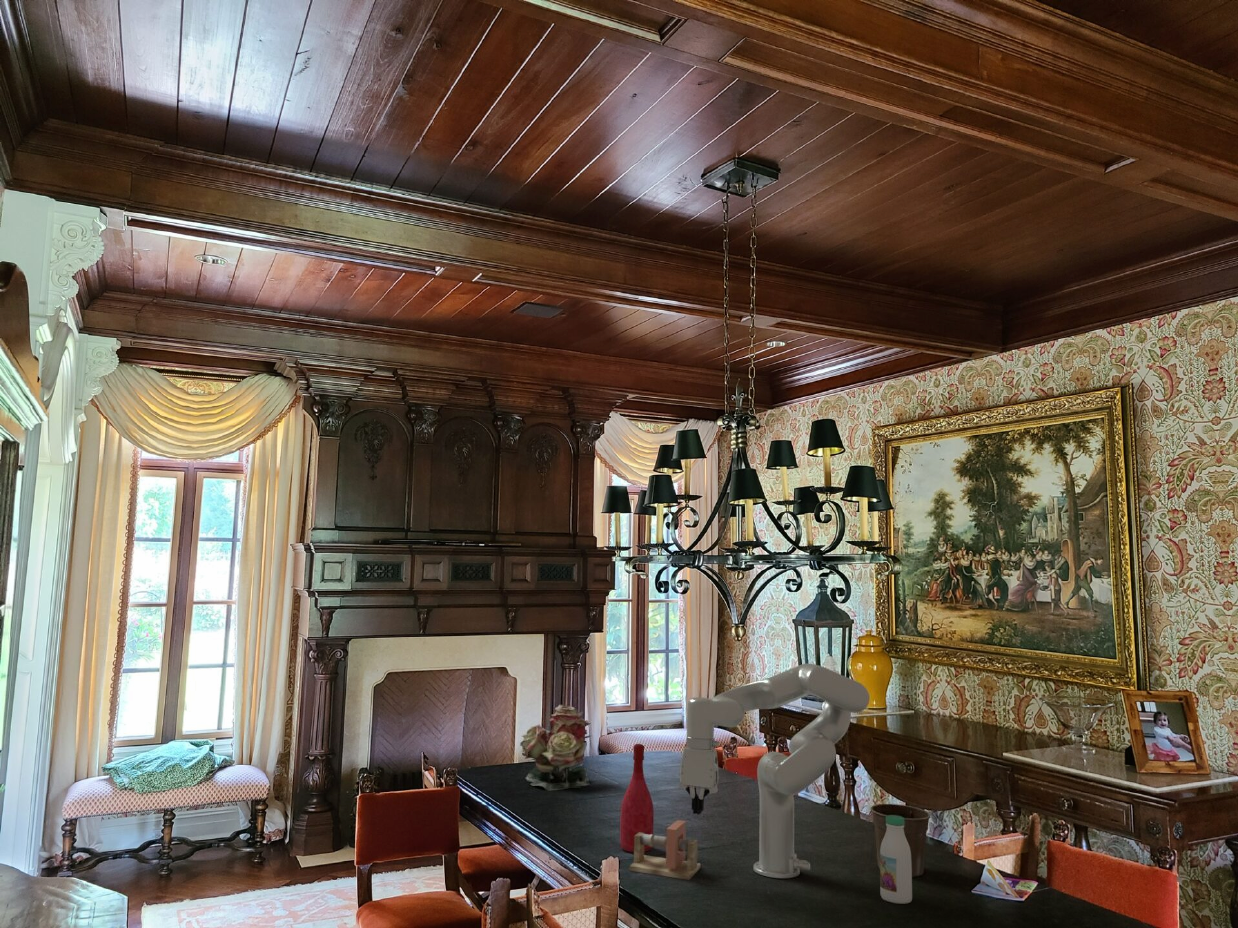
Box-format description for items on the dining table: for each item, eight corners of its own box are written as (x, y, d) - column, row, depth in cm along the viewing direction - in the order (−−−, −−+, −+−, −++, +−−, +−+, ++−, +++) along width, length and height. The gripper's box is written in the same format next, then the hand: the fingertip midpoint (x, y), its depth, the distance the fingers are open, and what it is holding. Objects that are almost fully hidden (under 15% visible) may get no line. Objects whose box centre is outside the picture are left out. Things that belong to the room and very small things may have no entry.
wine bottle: (624, 854, 248) (627, 747, 252) (615, 844, 257) (618, 741, 262) (657, 852, 250) (659, 746, 255) (647, 843, 260) (649, 740, 264)
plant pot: (942, 872, 241) (941, 812, 243) (914, 884, 230) (913, 821, 232) (889, 857, 253) (888, 800, 255) (860, 868, 242) (859, 808, 244)
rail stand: (700, 867, 238) (700, 835, 239) (689, 879, 228) (689, 845, 229) (642, 859, 244) (643, 827, 245) (629, 870, 234) (630, 837, 235)
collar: (685, 858, 239) (685, 820, 241) (674, 868, 230) (675, 829, 232) (676, 857, 240) (677, 819, 242) (665, 867, 231) (666, 828, 233)
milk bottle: (905, 893, 222) (904, 813, 225) (916, 904, 214) (915, 820, 217) (876, 893, 222) (875, 812, 225) (886, 904, 214) (885, 820, 217)
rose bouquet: (512, 778, 342) (516, 701, 347) (581, 774, 354) (583, 699, 358) (532, 793, 319) (535, 710, 323) (604, 788, 330) (607, 708, 335)
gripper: (729, 744, 238) (727, 813, 236) (678, 738, 244) (675, 806, 241) (722, 748, 231) (720, 819, 229) (670, 742, 237) (667, 812, 234)
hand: (697, 812), depth 235 cm, fingers closed
